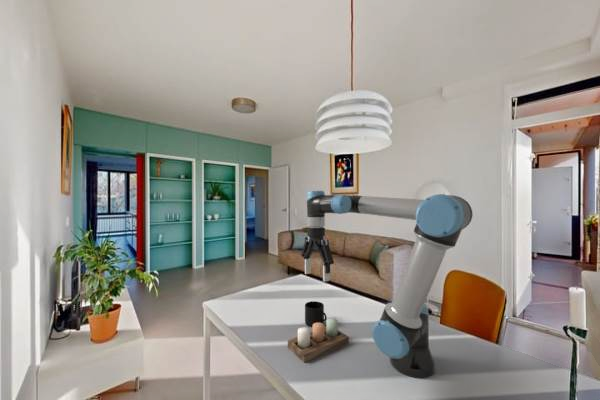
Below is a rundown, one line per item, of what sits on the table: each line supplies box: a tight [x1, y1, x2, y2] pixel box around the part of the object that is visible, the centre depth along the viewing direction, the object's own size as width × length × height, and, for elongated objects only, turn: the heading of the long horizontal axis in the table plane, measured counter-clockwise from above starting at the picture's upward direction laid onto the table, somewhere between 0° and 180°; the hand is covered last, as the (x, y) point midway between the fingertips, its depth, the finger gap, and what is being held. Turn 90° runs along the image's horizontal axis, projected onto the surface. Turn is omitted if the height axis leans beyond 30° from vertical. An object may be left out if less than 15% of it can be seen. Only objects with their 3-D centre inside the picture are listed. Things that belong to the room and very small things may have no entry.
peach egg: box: [312, 323, 325, 344], centre depth 106 cm, size 5×5×6 cm
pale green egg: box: [325, 317, 339, 338], centre depth 111 cm, size 5×5×6 cm
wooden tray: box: [287, 326, 350, 364], centre depth 106 cm, size 12×23×3 cm, turn 123°
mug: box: [304, 300, 328, 328], centre depth 126 cm, size 9×12×9 cm
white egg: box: [297, 326, 311, 350], centre depth 102 cm, size 5×5×6 cm
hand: (316, 277), depth 108 cm, fingers open, 12 cm apart
